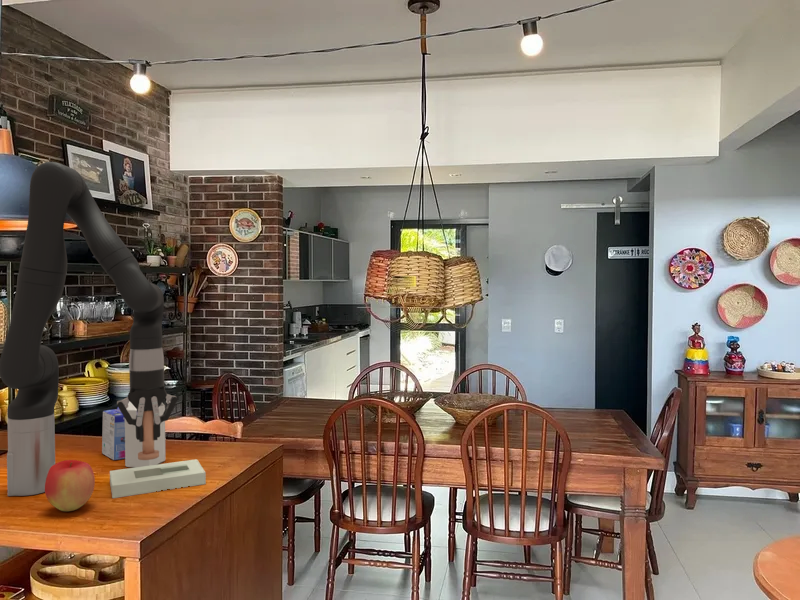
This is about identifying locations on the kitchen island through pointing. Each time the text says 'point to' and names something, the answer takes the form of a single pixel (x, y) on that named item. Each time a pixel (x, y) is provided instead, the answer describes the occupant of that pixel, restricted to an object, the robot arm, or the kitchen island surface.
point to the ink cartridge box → (113, 434)
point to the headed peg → (148, 437)
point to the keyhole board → (156, 478)
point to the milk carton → (135, 446)
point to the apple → (69, 484)
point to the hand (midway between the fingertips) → (148, 440)
